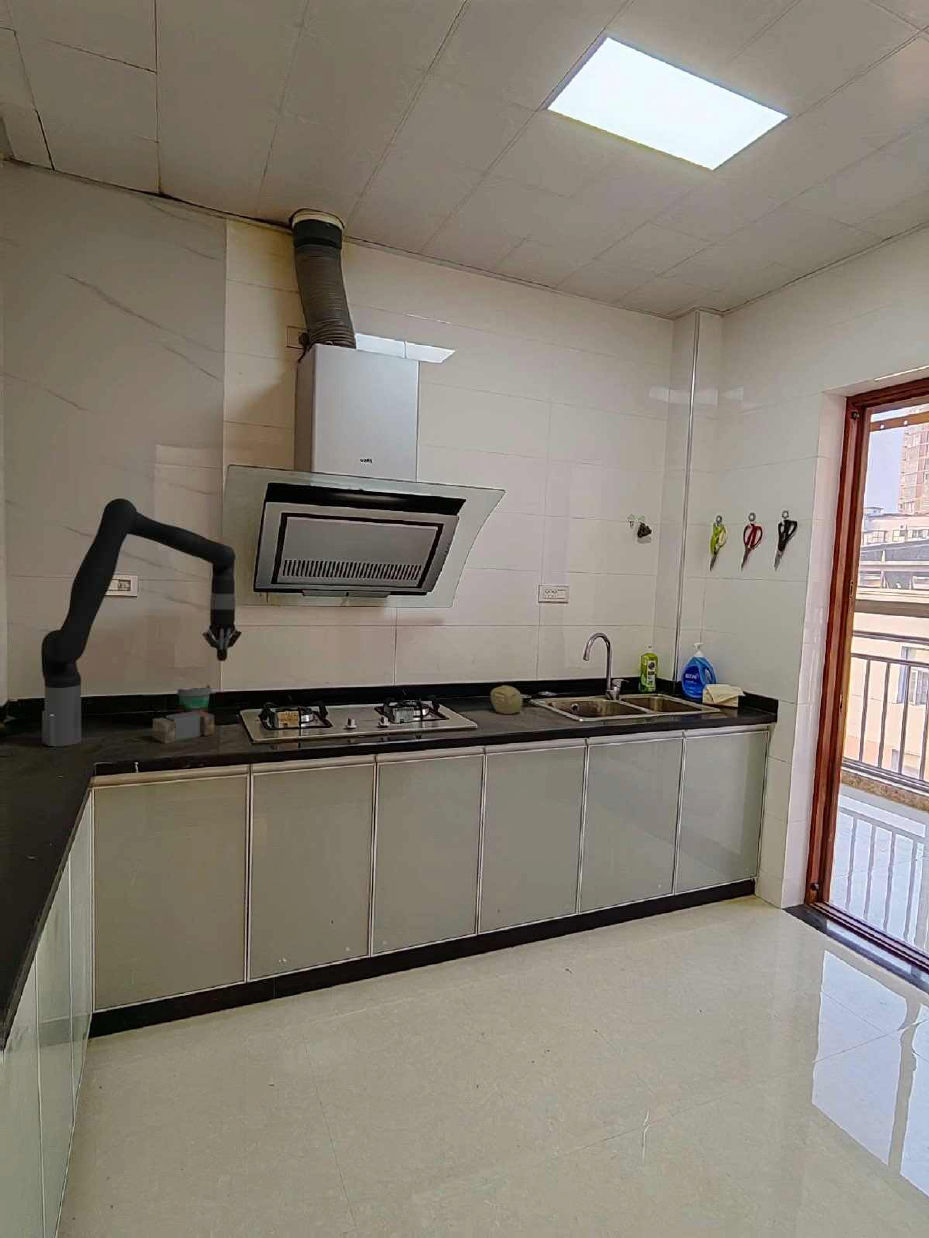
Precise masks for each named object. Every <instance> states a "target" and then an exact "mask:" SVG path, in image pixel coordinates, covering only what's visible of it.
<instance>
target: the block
mask: <svg viewBox="0 0 929 1238" xmlns="http://www.w3.org/2000/svg"><path fill="white" fill-rule="evenodd" d="M165 719H167V720H170V721H172V722H175V723H176V739H175V740H176V741H179V740H178V739H181V740H185V739H186V738H187V739H191V737H193V738H198V737H202V734H201V722H202V714H199V713H196V712H187V713H174V714H169V715H167V714H166V715H165ZM197 736H198V737H197ZM187 739H186V740H187Z"/></svg>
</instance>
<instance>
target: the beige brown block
mask: <svg viewBox="0 0 929 1238" xmlns="http://www.w3.org/2000/svg"><path fill="white" fill-rule="evenodd" d="M152 739H154V740H156V741H158V742H160V743H163V744H165V743H166V744H171V743H176V741H175V739H176V723H175V722H172V721H170V720H167V719H166V717H165V718H164V717H160V718H159V717H158V718H153V719H152Z"/></svg>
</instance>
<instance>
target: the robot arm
mask: <svg viewBox="0 0 929 1238" xmlns="http://www.w3.org/2000/svg"><path fill="white" fill-rule="evenodd" d="M103 509H104V510H103V512H102V515H101V520H100V523H99V526H98V530H97V532H96V535H95V537H94V538H93V542H92V543H91V545H90V547H89V548H88V549H87V553H86V554H85V556H84V557H83V560H82V562H81V564H80V565H79V568H78V570H77V572H76V574H75V577H74V579H73V581H72V586H71V589H70V597H69V607H68V610H67V611H68V612H67V615H66V617H65V620H64V621H63V623H62V626H61V628H60V629H55V630H52V631H49V632H48V633H47V634H46V635H45V636H44V638H43V639H42V642H41V648H40V650H41V651H40V652H41V653H40V655H41V672H42V677H43V680H44V710H42V713H41V716H42V717H41V718H42V719H41V723H42V724H41V728H42V729H41V731H42V735H41V738H42V741H41V742H42V744H44V743H45V744H46V746H47V745H48V746H47V747H49V746H53V747H66V746H67V747H69V746H72V745H77V744H80V743H81V741H82V677H81V674H80V672H79V670H78V667H77V666H78V665H77V661H78V660H79V659H80V658H81V657H82V655H84V652H85V650H86V646H87V643H88V641H89V637H90V633H91V629H92V627H93V624H94V623H95V622H94V621H95V619H96V617H97V615H98V612H99V611H100V608H101V606H102V603H103V601H104V600H105V596H106V594H108V591H109V587H110V586H111V584H112V581H113V579H114V575H115V573H116V569H117V566H118V560H119V555H120V551H121V549H122V546H123V543H124V541H125V539H126V538H127V536H128V535H131V536H134V537H135V536H136V537H140V538H143V539H147V540H148V541H149V540H150V541H153V542H156V543H159V544H161V545H163V546H166V547H169V548H171V549H173V550H176V551H179V552H182V553H183V554H186V555H188V556H192V557H194V558H198V559H201V560H204V561H206V562H207V563H210V564H211V565H212V566H211V570H212V578H211V591H210V592H211V595H210V604H209V605H210V607H209V608H210V609H209V622H210V625H209V627H208V630H207V631H205V632H203V633H202V636H203V638H204V639H205V640H206V642H207V644H209V646H210V648H214V649H216V659H217V661H219V662H226V660H227V658H228V649H229V648H233V646H234V645H235V644H236V642H237V641H238V639H239V638H240V636H242V632H241V631H239V630H237V628H236V625H235V620H236V618H235V615H236V611H235V610H236V599H235V597H236V596H235V578H234V577H235V575H234V574H235V563H236V562H235V561H236V553H235V551H234V549H233V548H232V547H231V546H228V545H225V544H223V543H220V542H217V541H214V540H211V539H209V538H206V537H205V536H203V535H200V534H198V533H195V532H193V531H190V530H189V529H188V530H187V529H185V528H182V527H178V526H175V525H170V524H167V523H164V522H163V523H162V522H159V521H157V520H154V519H152V518H149V517H147V516H146V515H143V514H142V513H140V512H139V511H137V507H135V505H134V504H133V503H132V502H131V501H130V500H128V499H126V498H114V499H113V500H110V501H109V502H108V503H107V504H106V505H105V506H104V508H103ZM45 744H44V745H45Z"/></svg>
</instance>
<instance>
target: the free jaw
mask: <svg viewBox="0 0 929 1238" xmlns="http://www.w3.org/2000/svg"><path fill="white" fill-rule="evenodd" d="M196 713H199V714H202V722H201V736H211V735H215V734H214V733H215V715H214V714H210V713H208V712H207V713H205V712H202V711H198V712H196Z"/></svg>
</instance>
